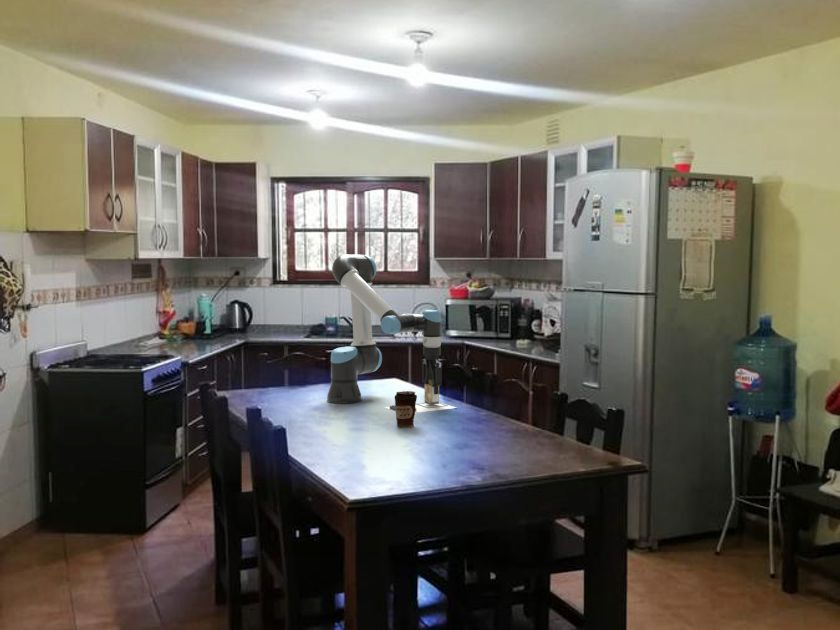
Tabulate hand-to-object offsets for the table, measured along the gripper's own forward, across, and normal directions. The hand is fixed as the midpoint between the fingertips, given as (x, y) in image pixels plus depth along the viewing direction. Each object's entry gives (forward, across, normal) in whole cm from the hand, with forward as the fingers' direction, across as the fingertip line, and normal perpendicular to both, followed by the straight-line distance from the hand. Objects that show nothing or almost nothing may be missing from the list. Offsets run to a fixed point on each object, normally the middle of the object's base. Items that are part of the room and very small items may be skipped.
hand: (431, 400), depth 327 cm
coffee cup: (+2, +29, -30) cm, 42 cm away
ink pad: (+2, +3, -16) cm, 16 cm away
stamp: (+1, 0, 0) cm, 1 cm away
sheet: (+2, +2, -7) cm, 8 cm away
